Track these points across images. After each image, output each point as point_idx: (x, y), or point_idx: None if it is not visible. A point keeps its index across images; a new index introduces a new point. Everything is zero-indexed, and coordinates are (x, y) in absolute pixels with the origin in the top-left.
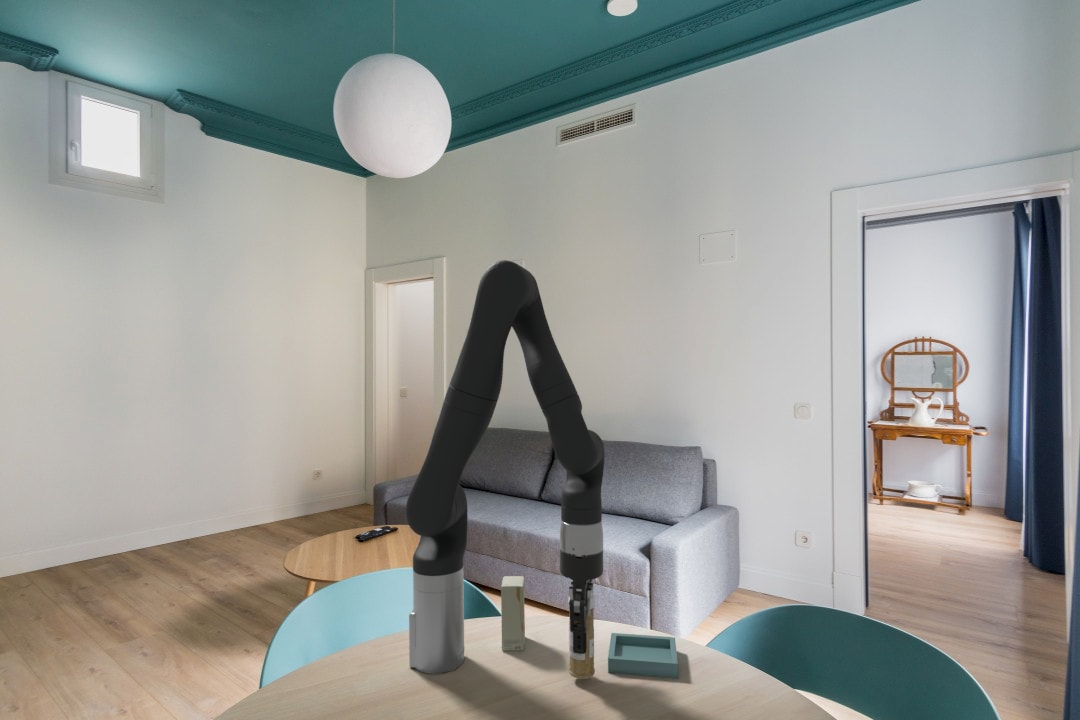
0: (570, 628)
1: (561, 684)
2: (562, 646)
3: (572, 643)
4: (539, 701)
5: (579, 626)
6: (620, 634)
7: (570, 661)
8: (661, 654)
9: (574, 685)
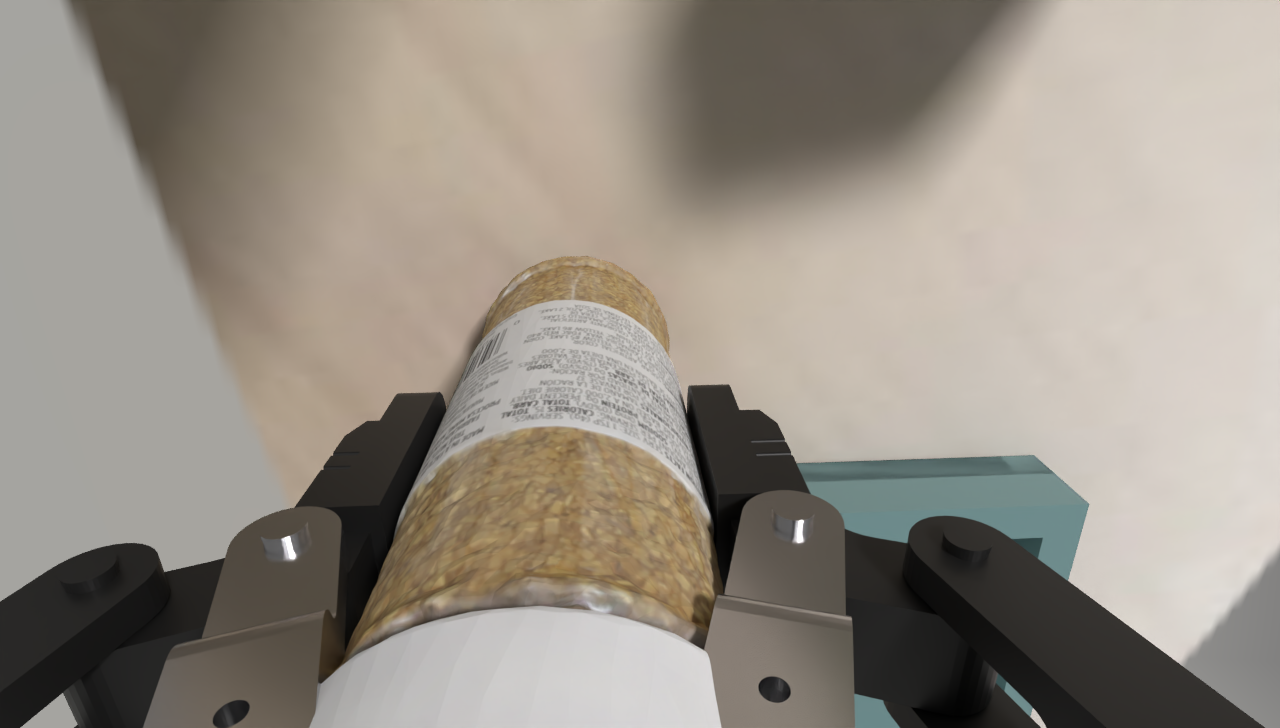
0: (16, 593)
1: (490, 201)
2: (1046, 113)
3: (460, 392)
4: (228, 81)
5: (79, 714)
6: (1058, 560)
7: (519, 301)
8: (871, 725)
9: (500, 289)
